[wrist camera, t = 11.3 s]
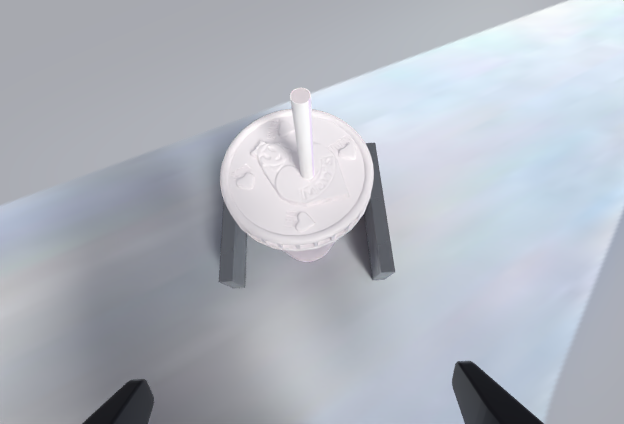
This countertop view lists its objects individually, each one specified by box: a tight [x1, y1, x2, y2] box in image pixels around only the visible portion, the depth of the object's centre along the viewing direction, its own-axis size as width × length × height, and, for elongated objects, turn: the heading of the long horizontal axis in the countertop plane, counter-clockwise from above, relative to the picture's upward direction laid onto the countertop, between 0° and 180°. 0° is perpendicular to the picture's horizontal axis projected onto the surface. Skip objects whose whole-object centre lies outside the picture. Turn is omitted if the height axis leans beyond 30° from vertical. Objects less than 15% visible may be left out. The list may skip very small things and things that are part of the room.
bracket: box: [219, 143, 395, 288], centre depth 19 cm, size 9×10×4 cm
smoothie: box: [220, 88, 374, 262], centre depth 14 cm, size 6×6×14 cm
